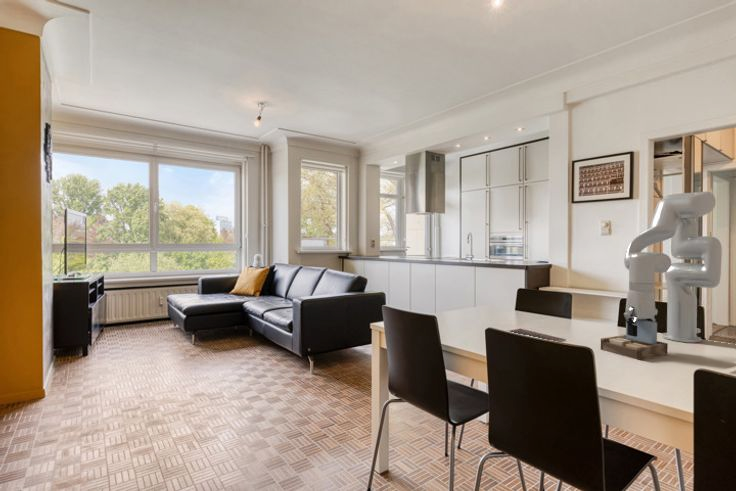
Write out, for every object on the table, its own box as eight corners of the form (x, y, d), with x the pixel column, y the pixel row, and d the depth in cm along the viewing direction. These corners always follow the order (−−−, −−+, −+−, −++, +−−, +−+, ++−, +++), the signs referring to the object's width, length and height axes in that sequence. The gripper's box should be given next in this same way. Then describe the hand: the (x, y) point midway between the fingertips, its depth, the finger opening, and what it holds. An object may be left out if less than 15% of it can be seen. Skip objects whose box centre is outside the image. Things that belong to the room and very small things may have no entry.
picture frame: (494, 338, 168) (538, 350, 149) (494, 332, 167) (538, 344, 149) (520, 333, 176) (565, 344, 157) (520, 327, 176) (565, 338, 157)
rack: (627, 347, 150) (627, 334, 150) (667, 357, 137) (667, 343, 137) (600, 352, 144) (600, 338, 144) (639, 363, 131) (640, 348, 131)
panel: (631, 347, 147) (631, 317, 147) (656, 353, 139) (657, 322, 139) (625, 347, 146) (626, 318, 146) (651, 354, 138) (651, 323, 137)
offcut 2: (634, 352, 140) (634, 342, 140) (648, 356, 136) (648, 346, 136) (625, 354, 138) (625, 344, 138) (639, 357, 134) (639, 347, 134)
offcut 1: (618, 348, 145) (618, 337, 145) (630, 351, 141) (631, 340, 141) (609, 349, 143) (609, 339, 143) (621, 353, 139) (621, 342, 139)
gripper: (645, 285, 149) (645, 330, 149) (615, 287, 142) (615, 334, 142) (667, 287, 142) (667, 334, 142) (636, 290, 135) (636, 339, 135)
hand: (641, 334), depth 142 cm, fingers open, 9 cm apart
